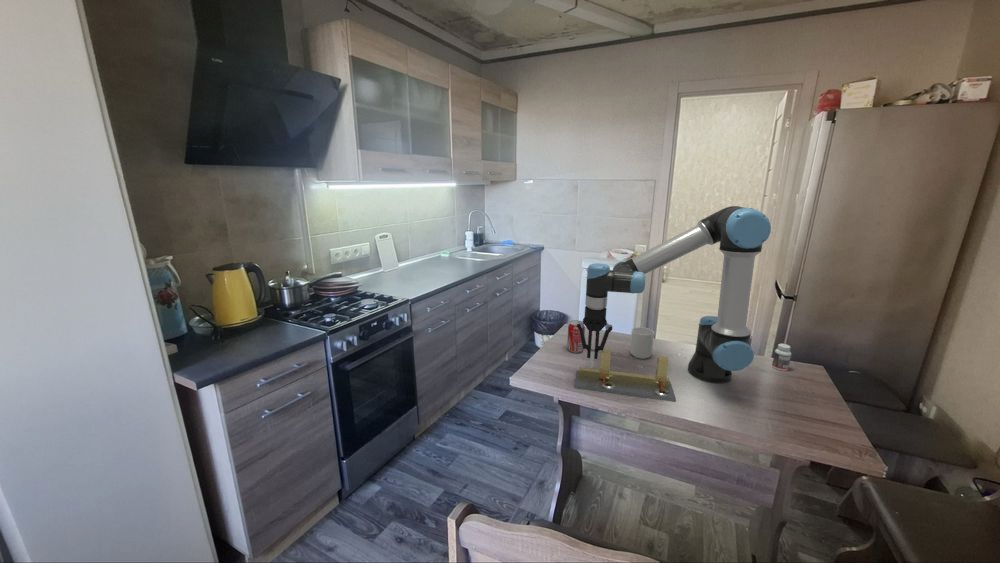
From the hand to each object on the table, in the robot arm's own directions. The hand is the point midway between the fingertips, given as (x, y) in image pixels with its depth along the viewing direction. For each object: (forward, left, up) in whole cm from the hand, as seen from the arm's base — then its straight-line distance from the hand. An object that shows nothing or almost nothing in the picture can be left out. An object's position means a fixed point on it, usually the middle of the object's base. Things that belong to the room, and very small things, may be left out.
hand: (591, 365), depth 146 cm
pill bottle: (-73, -29, -6) cm, 79 cm away
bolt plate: (-11, +3, -5) cm, 13 cm away
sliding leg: (-5, +2, -4) cm, 6 cm away
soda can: (+8, -24, -6) cm, 26 cm away
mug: (-20, -28, -6) cm, 35 cm away
